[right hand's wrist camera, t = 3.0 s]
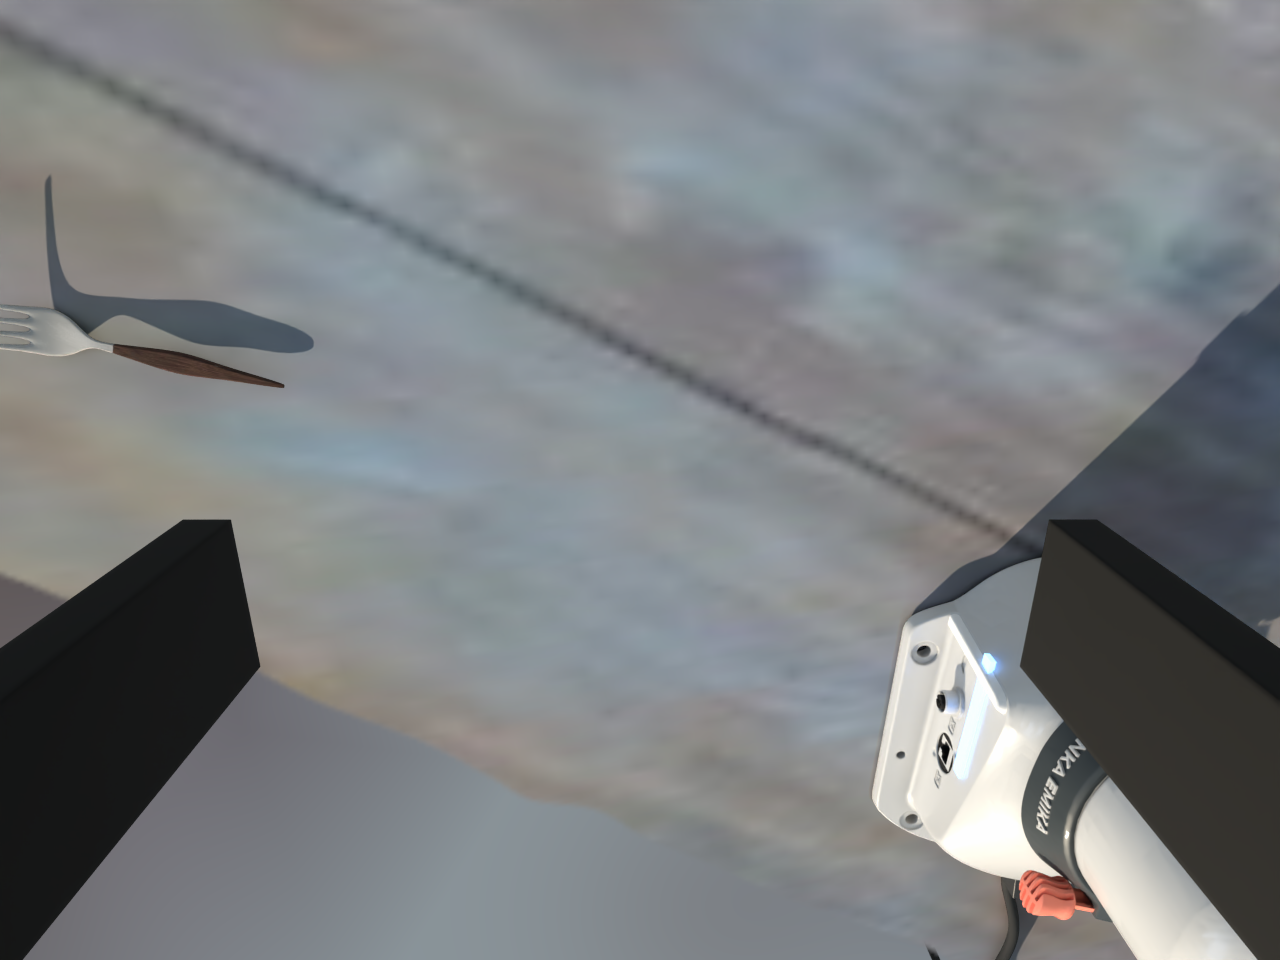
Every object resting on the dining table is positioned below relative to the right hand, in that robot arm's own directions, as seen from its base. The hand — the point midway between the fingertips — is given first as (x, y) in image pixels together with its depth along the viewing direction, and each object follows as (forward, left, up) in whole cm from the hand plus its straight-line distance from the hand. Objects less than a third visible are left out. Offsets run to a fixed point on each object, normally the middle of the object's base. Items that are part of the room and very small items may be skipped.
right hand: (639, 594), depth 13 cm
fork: (+2, -27, -31) cm, 41 cm away
